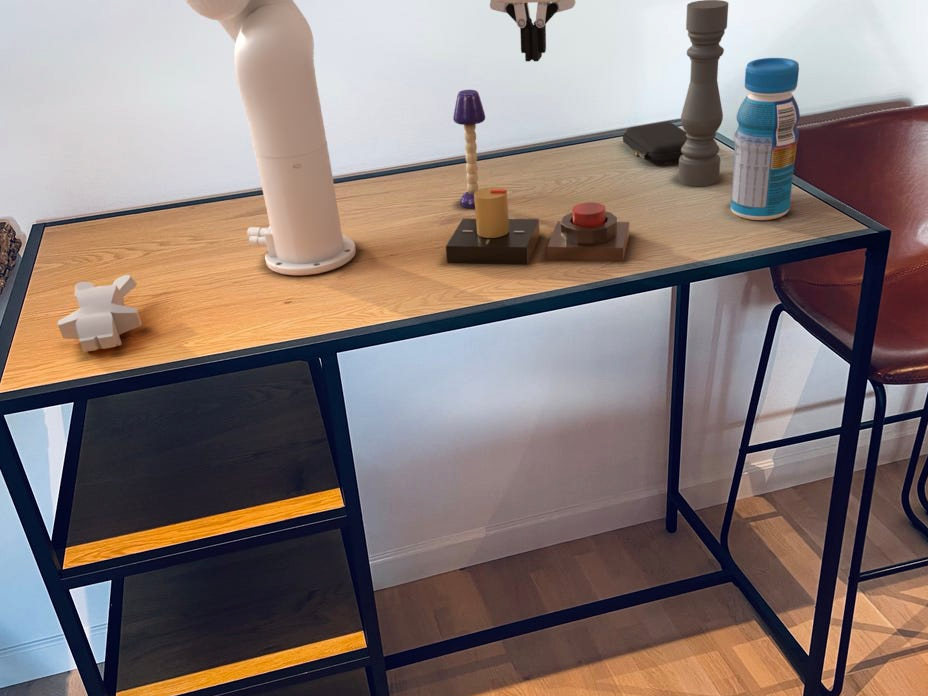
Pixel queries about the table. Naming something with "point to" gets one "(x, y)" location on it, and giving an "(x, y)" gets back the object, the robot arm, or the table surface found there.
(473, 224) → the dimmer
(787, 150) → the beverage bottle
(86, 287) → the white blocky figure
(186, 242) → the table surface
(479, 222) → the dimmer knob
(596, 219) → the power button
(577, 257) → the switch box
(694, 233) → the table surface
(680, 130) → the carrying case
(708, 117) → the candle holder
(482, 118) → the toy lamp
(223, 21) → the robot arm
